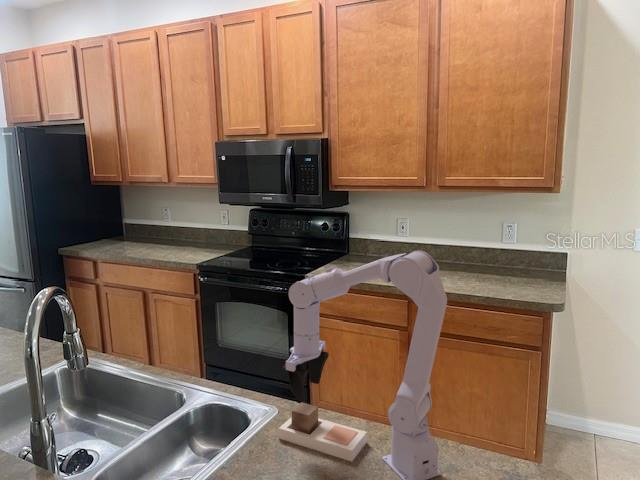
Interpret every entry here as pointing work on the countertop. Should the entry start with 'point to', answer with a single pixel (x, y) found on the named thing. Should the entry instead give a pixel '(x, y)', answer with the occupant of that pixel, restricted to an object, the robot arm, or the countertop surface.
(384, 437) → the countertop surface
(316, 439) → the socket block
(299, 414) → the plug
